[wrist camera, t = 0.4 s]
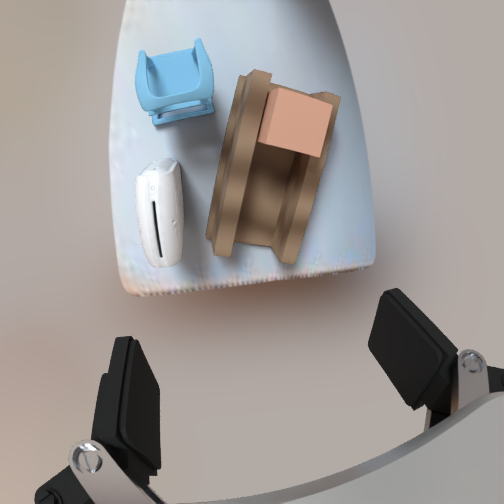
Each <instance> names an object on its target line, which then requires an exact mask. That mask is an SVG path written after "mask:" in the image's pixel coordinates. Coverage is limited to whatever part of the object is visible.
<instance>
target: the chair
mask: <svg viewBox="0 0 504 504" xmlns="http://www.w3.org/2000/svg"><path fill="white" fill-rule="evenodd" d="M135 86H136V92H137V96H138V99H139V102H140V105H141V107H142V109H143V110H144V111H148V113H149V116H152V123H153V125H159V124H163V123H167V122H172V121H176V120H181V119H185V118H190V117H195V116H201V115H206V114H211V113H213V112H214V106H213V104H212V101H211V97H212V95H213V92H214V76H213V69H212V65H211V62H210V59H209V57H208V55H207V53H206V51H205V49H204V46H203V44H202V41H201V39H200V38H197V39H196V40H195V47H194V48H192V49H187V50H182V51H177V52H172V53H168V54H163V55H158V56H153V57H148V56H146V53H145V51H144V50H140V51H139V56H138V64H137V69H136V75H135ZM204 104H206V106H207V109H206V110H202V111H196V112H191V113H185V114H180V115H175V116H171V117H166V118H161V119H158V116H159V114H161V113H165V112H169V111H174V110H178V109H183V108H188V107H193V106H199V105H204Z"/></svg>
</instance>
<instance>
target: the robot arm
mask: <svg viewBox="0 0 504 504" xmlns="http://www.w3.org/2000/svg"><path fill="white" fill-rule="evenodd" d="M368 347H369V349H370V351H371V352H372V354H373V355H374V357H375V358H376V360H377V361H378V363H379V364H380V365H381V367H382V368H383V370H384V371H385V373H386V374H387V376H388V377H389V379H390V380H391V382H392V383H393V385H394V386H395V387H396V389H397V391H398V392H399V394H400V395H401V397H402V398H403V400H404V401H405V403H406V404H407V405H408V406H411V407H412V409H413V410H416V409H418V408H420V407H422V406H423V405H424V404H425V405H426V407H427V413H426V420H425V427H424V432H423V433H422V434H420V435H418V436H416V437H415V438H413V439H411V440H409V441H407V442H406V443H404V444H402V445H400V446H398V447H396V448H394V449H392V450H390V451H388V452H386V453H384V454H382V455H380V456H377V457H375V458H373V459H371V460H369V461H367V462H364V463H362V464H359V465H357V466H354V467H352V468H349V469H346V470H344V471H341V472H339V473H336V474H333V475H330V476H327V477H324V478H321V479H318V480H315V481H311V482H308V483H305V484H302V485H298V486H294V487H290V488H286V489H282V490H278V491H273V492H269V493H264V494H258V495H253V496H247V497H241V498H234V499H226V500H218V501H209V502H198V503H182V504H504V369H501V368H496V367H491V366H487V364H486V361H485V359H484V358H483V356H482V355H481V354H480V353H478V352H476V351H474V350H468V349H467V350H464V351H462V352H461V353H460V354H459V356H458V355H457V354H456V353H457V351H458V349H457V348H456V347H455V346H454V345H453V343H452V342H451V341H450V340H449V339H448V338H447V337H446V336H445V335H444V334H443V333H442V332H441V331H440V330H439V329H438V327H437V326H435V324H434V323H433V322H432V321H431V320H430V319H429V318H428V317H427V316H426V315H425V314H424V313H423V312H422V311H421V310H420V309H419V308H418V307H417V306H416V305H415V304H414V303H413V302H412V301H411V300H410V299H409V298H408V297H407V296H406V295H405V294H404V293H403V292H401V290H400V289H398V288H394V289H391V290H387V291H384V293H383V295H382V296H381V297H380V300H379V304H378V309H377V312H376V316H375V320H374V323H373V327H372V330H371V334H370V337H369V341H368ZM69 464H70V465H69V466H67V467H66V468H65V469H63V470H62V471H61V472H60V473H58V474H57V475H56V476H54V477H53V478H52V479H50V480H49V481H48V482H46V483H45V484H43V485H42V486H41V487H39V489H38V490H37V491H36V493H35V500H34V501H35V504H167V503H166V502H165V501H164V500H163V499H162V498H161V497H160V496H159V495H158V494H157V493H156V492H155V491H154V490H153V489H152V488H151V487H150V486H149V485H148V484H149V476H157V469H161V448H160V389H159V385H158V383H157V381H156V379H155V377H154V374H153V372H152V370H151V368H150V366H149V364H148V361H147V359H146V357H145V355H144V353H143V350H142V348H141V346H140V343H139V341H138V340H134V339H133V337H132V336H126V337H117V338H116V339H115V342H114V347H113V351H112V356H111V360H110V365H109V370H108V373H104V374H103V375H102V377H101V381H100V386H99V391H98V396H97V402H96V408H95V414H94V421H93V428H92V435H91V440H82V441H80V442H77V443H76V444H75V445H74V446H73V447H72V449H71V450H70V453H69ZM180 504H181V503H180Z"/></svg>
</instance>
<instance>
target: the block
mask: <svg viewBox="0 0 504 504" xmlns="http://www.w3.org/2000/svg"><path fill="white" fill-rule="evenodd" d="M332 107H333V105H331V104H328V103H326V102H323V101H320V100H317V99H314V98H311V97H309V96H305V95H302V94H299V93H296V92H293V91H290V90H286V89H283V88H277V89H274V90H271V91H269V92H268V93H267V97H266V101H265V105H264V109H263V114H262V118H261V122H260V126H259V130H258V135H257V139H256V141H257V142H261V143H264V144H268V145H273V146H277V147H281V148H285V149H289V150H293V151H297V152H301V153H305V154H308V155H312V156H316V157H319V158H320V155H321V151H322V147H323V143H324V139H325V135H326V131H327V127H328V123H329V119H330V115H331V111H332Z"/></svg>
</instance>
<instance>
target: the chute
mask: <svg viewBox="0 0 504 504" xmlns="http://www.w3.org/2000/svg"><path fill="white" fill-rule="evenodd" d="M271 77H272V74H271V73H267V72H264V71H260V70H256V69H254V70H253V71H252V72H250V73H249V74H248V75H247V76H242V75H240V76H239V79H238V83H237V87H236V91H235V95H234V99H233V103H232V107H231V111H230V116H229V120H228V124H227V129H226V133H225V138H224V142H223V147H222V152H221V156H220V161H219V166H218V171H217V176H216V181H215V186H214V191H213V197H212V202H211V207H210V213H209V218H208V224H207V230H206V238H209V239H211V242H212V247H213V253H214V255H216V256H225V257H230V256H231V251H232V246H233V242H241V243H249V244H257V245H265V246H271V248H272V249H273V251H274V253H275V254H276V256H277V257H278V259H279V261H280V262H281V263H289V264H295V262H296V259H297V256H298V252H299V249H300V246H301V243H302V239H303V236H304V233H305V229H306V226H307V223H308V219H309V216H310V213H311V209H312V206H313V202H314V199H315V195H316V192H317V188H318V185H319V181H320V177H321V174H322V170H323V166H324V163H325V159H326V155H327V151H328V147H329V144H330V140H331V136H332V132H333V128H334V124H335V120H336V116H337V112H338V107H339V103H340V99H341V97H339V96H337V95H334V94H332V93H329V92H320V93H314V94H307V93H304V92H301V91H298V90H294V89H291V88H288V87H284V86H281V85H277V84H274V83H270V81H271ZM277 88H283V89H286V90H290V91H293V92H296V93H299V94H302V95H305V96H309V97H311V98H314V99H317V100H320V101H323V102H326V103H328V104H331V105H333V107H332V111H331V115H330V119H329V123H328V127H327V131H326V135H325V139H324V143H323V147H322V151H321V155H320V158H319V157H316V156H312V155H308V154H305V153H301V152H297V151H293V150H289V149H285V148H281V147H277V146H273V145H268V144H264V143H261V142H257V141H256V139H257V135H258V130H259V126H260V122H261V118H262V114H263V109H264V105H265V101H266V97H267V93H268V92H269V91H271V90H274V89H277Z"/></svg>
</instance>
